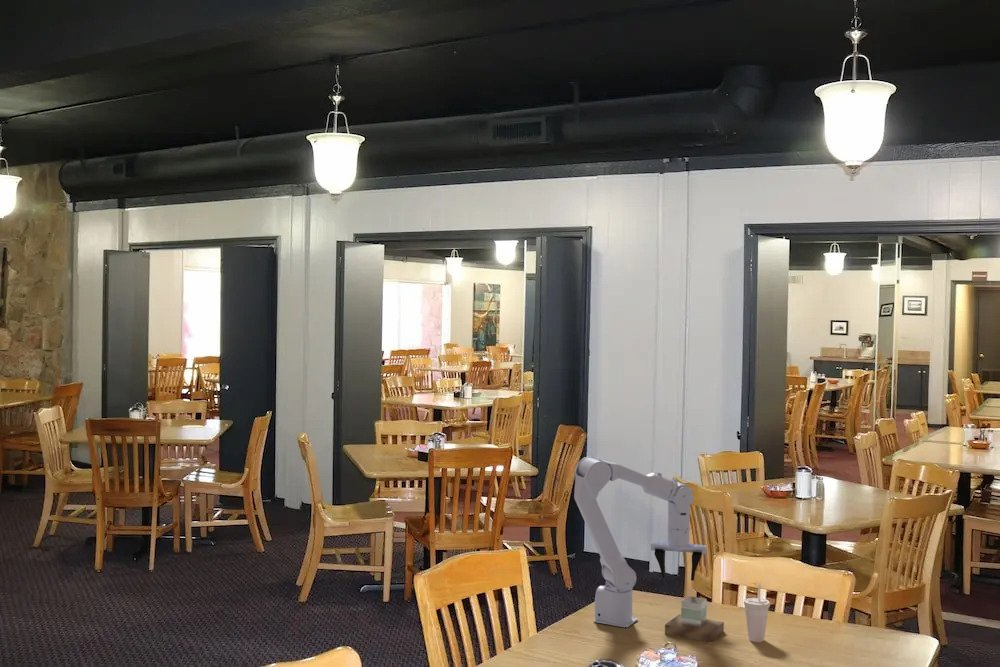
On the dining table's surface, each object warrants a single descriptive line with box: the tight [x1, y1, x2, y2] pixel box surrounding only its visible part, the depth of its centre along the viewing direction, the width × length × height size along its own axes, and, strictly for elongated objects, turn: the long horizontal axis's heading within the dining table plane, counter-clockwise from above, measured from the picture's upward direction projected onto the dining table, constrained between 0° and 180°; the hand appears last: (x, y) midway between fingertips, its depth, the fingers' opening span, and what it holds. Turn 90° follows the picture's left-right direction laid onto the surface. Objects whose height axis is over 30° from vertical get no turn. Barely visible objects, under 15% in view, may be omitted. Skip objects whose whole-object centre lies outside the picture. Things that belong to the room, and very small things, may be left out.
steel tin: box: [680, 595, 708, 628], centre depth 247 cm, size 5×5×6 cm
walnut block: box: [664, 613, 725, 643], centre depth 247 cm, size 12×10×3 cm
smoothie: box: [743, 583, 771, 643], centre depth 242 cm, size 6×6×14 cm
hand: (678, 578), depth 259 cm, fingers open, 7 cm apart
